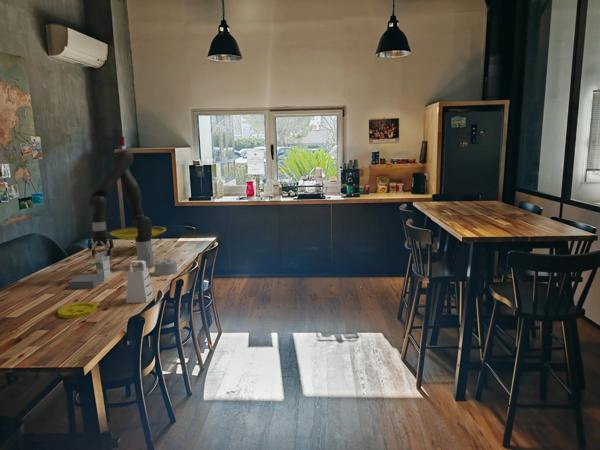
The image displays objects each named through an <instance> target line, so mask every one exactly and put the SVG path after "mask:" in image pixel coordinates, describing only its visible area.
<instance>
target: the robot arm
mask: <svg viewBox="0 0 600 450" xmlns="http://www.w3.org/2000/svg"><path fill="white" fill-rule="evenodd" d="M113 162H114V165H115V167H113V169H112V170H111V171H110V172H109V173H108V174H107V175H106V176H105V177H104V179H103V180H102V181H101V183H100V185H99V186H98V188H97V189H96V190H95V191H94V192H92V194H91V195H90V197H89V198H88V204H89V206H90V207H92V208H94V211H93V212H92V214H91V218H92V219H91V220H92V226H91V227H92V237H93V238H89V239H87V248H88V249H87V250H91V255H92V257H95V254H97V252H96V248H97V247H103V248H105V249H106V253H107V256H109V257H110V256H111V253H112V251H111V250H112V249H114V242H113V241H114V240H113V238H108V232H107V224H106V223H107V222H106V211H107V199H106V198H105V197H106V196H108V195H110V194H111V193H112V191H113V190H114V188H115V187H116V184H117V183H118V181H119V180H120V181H121V184H122V187H123V192H124V195H125V198H126V201H127V204H128V207H129V210H130V215H131V221H132V225H133V227H135V229H136V231H137V230H138V235H137V236H136V241H135V248H137V253H136V257H137V259H136V260H144V261H145V262H146V268H148V269H149V268H152V267H154V263H155V260H154V259H155V258H154V251H153V250H152V249H153V248H152V238H151V236H152V228H153V227H152V220H151V219H150V217H148V216H146V215H145V213H144V212H143V208H142V192H141V189H140V185H139V183H138V182H137V180H136V178H135V177H134V176H133V174H132V173H131V171H130V167H131V165H132V164H133V162H134V154H133V153H132V152H131V151H129V150H118V151H116V152H114V154H113ZM93 243H94V244H93ZM108 243H109V244H108ZM137 268H143V263H142V262H137Z"/></svg>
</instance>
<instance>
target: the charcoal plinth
mask: <svg viewBox="0 0 600 450" xmlns="http://www.w3.org/2000/svg"><path fill="white" fill-rule="evenodd" d="M104 282H105V278H104V274H97V273H95V274H78V275H77V276H75V277H74V278H72V279H70V280H68V281H67V285H68V290H69V289H71V290H73V289H74V290H77V289H82V290H84V289H85V290H86V289H87V290H88V289H95V288H97V287H98V286H100V285H101V284H102V283H104Z"/></svg>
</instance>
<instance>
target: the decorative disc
mask: <svg viewBox="0 0 600 450" xmlns="http://www.w3.org/2000/svg"><path fill="white" fill-rule="evenodd" d="M97 311H98V304H97V303H94V302H91V301H87V302H75V303H72V304H66V305H63V307H60V308H58V311H57V316H58V317H59V318H64V319H78V318H81V317H82V318H83V317H86V316H87V317H88V316H91V315H92V314H94V313H96V312H97Z"/></svg>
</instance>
